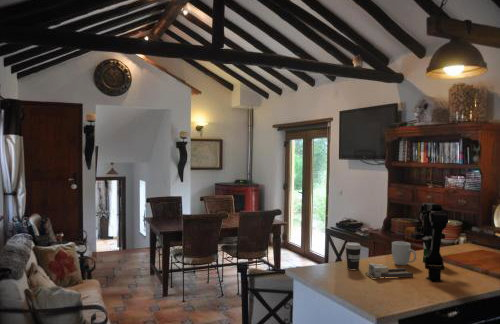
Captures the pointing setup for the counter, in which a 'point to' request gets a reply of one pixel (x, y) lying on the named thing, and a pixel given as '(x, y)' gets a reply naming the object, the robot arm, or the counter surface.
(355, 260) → the coffee cup
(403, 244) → the mug
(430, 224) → the robot arm
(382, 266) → the block
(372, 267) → the track
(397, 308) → the counter surface
